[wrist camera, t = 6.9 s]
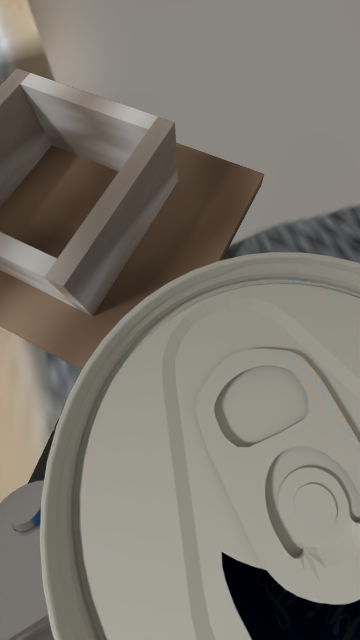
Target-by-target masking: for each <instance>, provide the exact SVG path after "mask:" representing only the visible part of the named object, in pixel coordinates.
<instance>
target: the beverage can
mask: <svg viewBox="0 0 360 640" xmlns="http://www.w3.org/2000/svg"><path fill="white" fill-rule="evenodd" d="M40 550H41V564H42V578H43V587H44V593H45V598H46V603H47V609H48V614H49V620H50V625H51V630H52V633H53V637H54V640H360V263H358V262H354V261H349V260H345V259H341V258H336V257H332V256H327V255H318V254H310V253H302V252H269V253H259V254H250V255H243V256H239V257H234V258H230V259H226V260H221V261H217V262H215V263H212V264H209V265H206V266H203V267H201V268H198V269H195V270H193V271H191V272H189V273H187V274H185V275H183V276H181V277H179V278H177V279H175V280H173V281H171V282H169V283H167V284H166V285H164V286H163V287H161V288H160V289H158V290H157V291H155V292H154V293H152V294H151V295H149V296H148V297H146V298H145V299H144V300H142V301H141V302H140V303H139V304H138V305H137V306H135V307H134V308H133V309H132V310H131V311H130V312H129V313H127V314H126V315H125V316H124V317H123V318H122V319H121V320H120V321H119V322H118V323H117V325H116V326H115V327H114V328H113V329H112V330H111V331H110V332H109V333H108V334H107V336H106V337H105V338H104V339H103V340H102V342H101V343H100V344H99V346H98V347H97V349H96V350H95V352H94V353H93V354H92V356H91V357H90V359H89V360H88V361H87V363H86V364H85V366H84V368H83V370H82V371H81V373H80V375H79V377H78V379H77V381H76V383H75V384H74V386H73V388H72V390H71V392H70V394H69V396H68V399H67V401H66V404H65V406H64V409H63V411H62V414H61V416H60V419H59V421H58V424H57V427H56V430H55V434H54V438H53V442H52V445H51V449H50V453H49V456H48V460H47V466H46V473H45V479H44V486H43V492H42V499H41V523H40Z"/></svg>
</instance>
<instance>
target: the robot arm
mask: <svg viewBox="0 0 360 640" xmlns="http://www.w3.org/2000/svg"><path fill="white" fill-rule="evenodd" d="M61 414H62V413H61ZM60 416H61V415H60ZM59 419H60V418H59ZM59 419H58V421H59ZM58 421H57V423H56V425H55V430H56V427H57V424H58ZM55 430H54V431H53V432H52V434H51V436H50V438H49V440H48V442H47V444H46V447H45V449H44V451H43V453H42V455H41V457H40V459H39V461H38V463H37V466H36V468H35V470H34V472H33V474H32V476H31V478H30V480H29V482H28V484H26V485H24V486H22V487H20V488H18V489H17V490H15V491H14V492H12V493H11V494H10V495H9V496H7V497H6V498H5V499H4V500H3V501H2V502H1V503H0V640H54V637H53V633H52V630H51V625H50V620H49V614H48V609H47V603H46V598H45V593H44V587H43V578H42V564H41V550H40V523H41V499H42V492H43V486H44V479H45V473H46V466H47V460H48V456H49V453H50V449H51V445H52V442H53V438H54V434H55Z"/></svg>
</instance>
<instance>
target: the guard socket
mask: <svg viewBox="0 0 360 640" xmlns="http://www.w3.org/2000/svg"><path fill="white" fill-rule="evenodd" d="M263 177H264V174H262V173H260V172H257V171H254V170H251V169H249V168H246V167H243V166H240V165H237V164H235V163H232V162H229V161H226V160H223V159H221V158H218V157H215V156H212V155H209V154H207V153H204V152H201V151H198V150H195V149H192V148H190V147H187V146H184V145H181V144H178V143H176V135H175V122H172V121H169V120H166V119H163V118H160V117H157V116H154V115H152V114H149V113H146V112H143V111H140V110H137V109H134V108H131V107H128V106H125V105H122V104H120V103H117V102H114V101H111V100H108V99H105V98H102V97H99V96H96V95H93V94H90V93H88V92H85V91H82V90H79V89H76V88H73V87H70V86H67V85H64V84H61V83H58V82H56V81H53V80H50V79H47V78H44V77H41V76H38V75H35V74H32V73H29V72H26V71H24V70H21V69H18V68H16V69H15V70H14V71H13V72H12V74H11V75H10V76H9V77H8V78H7V79H6V80H5V81H4V82H3V83H2V84H1V85H0V326H1V327H3V328H5V329H7V330H8V331H10V332H12V333H14V334H16V335H18V336H19V337H21V338H23V339H25V340H27V341H29V342H31V343H32V344H34V345H36V346H38V347H40V348H42V349H43V350H45V351H47V352H49V353H51V354H53V355H54V356H56V357H58V358H60V359H62V360H64V361H65V362H67V363H69V364H71V365H73V366H75V367H76V368H78V369H80V370H83V368H84V366H85V364H86V363H87V361H88V360H89V359H90V357H91V356H92V354H93V353H94V352H95V350H96V349H97V347H98V346H99V344H100V343H101V342H102V340H103V339H104V338H105V337H106V336H107V334H108V333H109V332H110V331H111V330H112V329H113V328H114V327H115V326H116V325H117V323H118V322H119V321H120V320H121V319H122V318H123V317H124V316H125V315H126V314H127V313H129V312H130V311H131V310H132V309H133V308H134V307H135V306H137V305H138V304H139V303H140V302H141V301H142V300H144V299H145V298H146V297H148V296H149V295H151V294H152V293H154V292H155V291H157V290H158V289H160V288H161V287H163V286H164V285H166V284H167V283H169V282H171V281H173V280H175V279H177V278H179V277H181V276H183V275H185V274H187V273H189V272H191V271H193V270H195V269H198V268H201V267H203V266H206V265H209V264H212V263H215V262H217V261H221V260H222V259H223V257H224V255H225V253H226V251H227V249H228V247H229V246H230V244H231V242H232V240H233V238H234V236H235V234H236V232H237V230H238V228H239V227H240V225H241V223H242V221H243V219H244V217H245V215H246V213H247V211H248V209H249V207H250V206H251V204H252V202H253V200H254V198H255V196H256V194H257V192H258V190H259V188H260V187H261V183H262V180H263Z"/></svg>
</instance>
